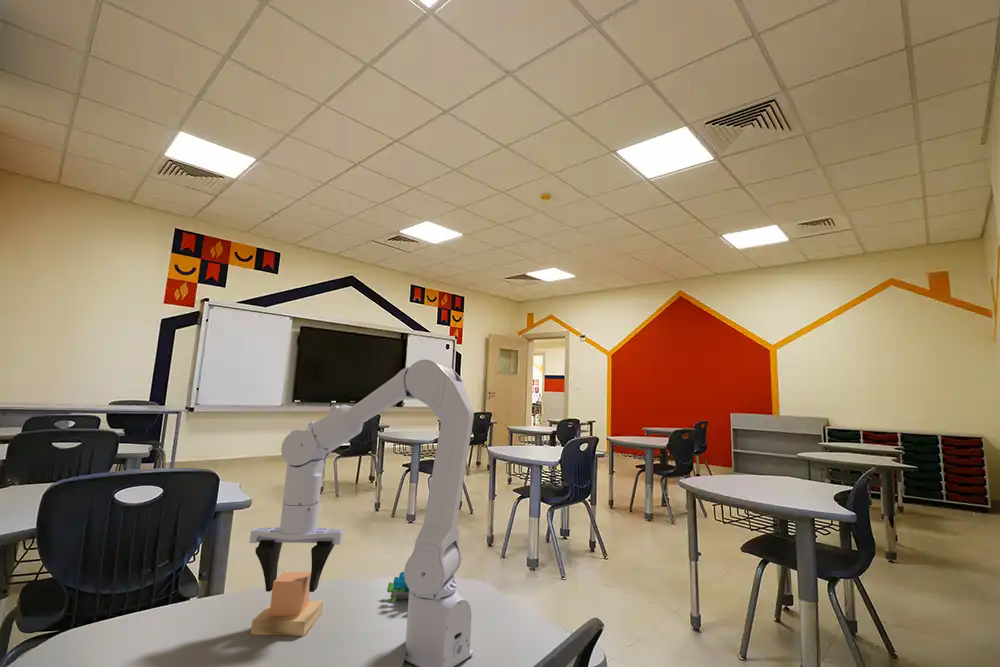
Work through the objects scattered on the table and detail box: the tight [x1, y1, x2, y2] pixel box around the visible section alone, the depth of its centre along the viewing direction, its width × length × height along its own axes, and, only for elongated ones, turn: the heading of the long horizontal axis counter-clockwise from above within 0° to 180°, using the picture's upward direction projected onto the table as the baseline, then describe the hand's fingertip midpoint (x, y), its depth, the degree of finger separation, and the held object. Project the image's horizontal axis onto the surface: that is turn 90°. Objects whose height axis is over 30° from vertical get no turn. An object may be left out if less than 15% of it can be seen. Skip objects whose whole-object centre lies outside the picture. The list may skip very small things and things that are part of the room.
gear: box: [386, 571, 409, 603], centre depth 84 cm, size 11×6×10 cm
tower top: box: [250, 600, 324, 637], centre depth 74 cm, size 8×8×2 cm
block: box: [269, 571, 311, 616], centre depth 75 cm, size 4×4×5 cm
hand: (291, 589), depth 75 cm, fingers open, 6 cm apart
